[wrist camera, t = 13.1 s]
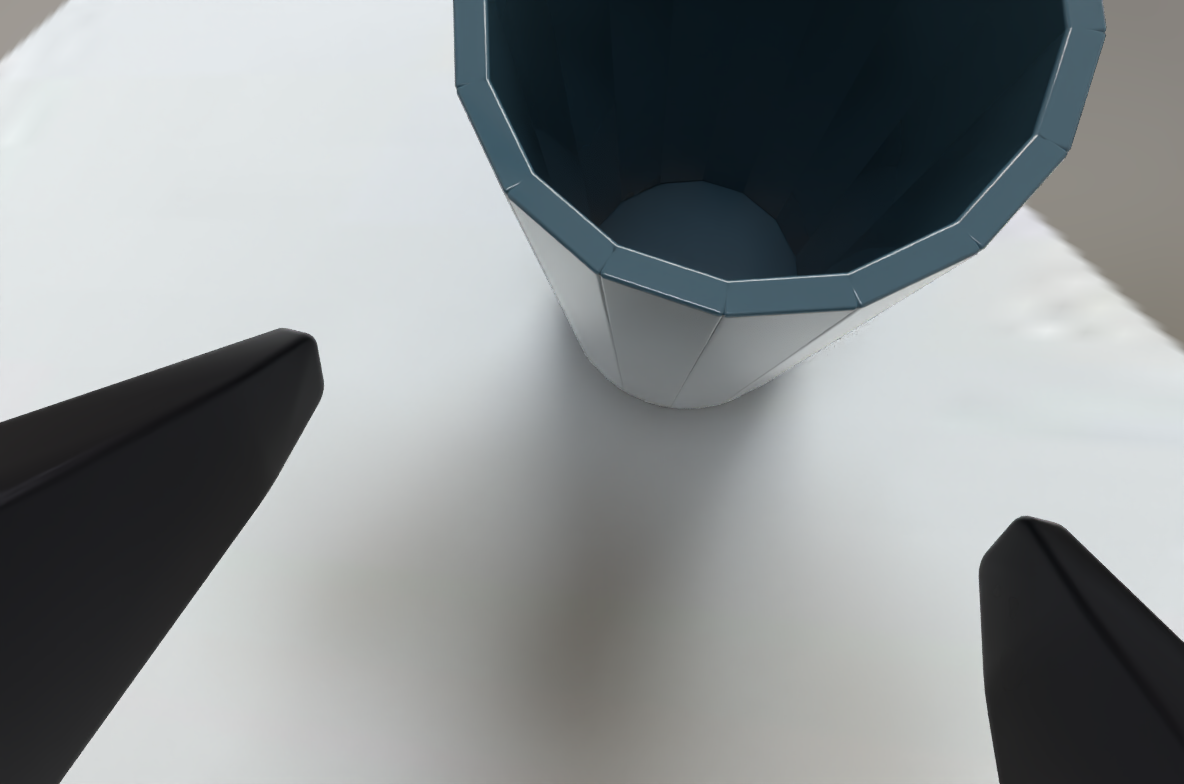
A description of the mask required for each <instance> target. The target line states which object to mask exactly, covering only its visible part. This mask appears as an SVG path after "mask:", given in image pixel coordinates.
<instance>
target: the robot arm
mask: <svg viewBox="0 0 1184 784" xmlns="http://www.w3.org/2000/svg"><path fill="white" fill-rule="evenodd" d="M323 390H324V380H323V374H322V369H321V363H320V357H319V352H318V346H317V342H316V340H315V339H314V337H313V336H311V335H310V334H307V333H304V332H300V331H296V330H292V329H287V328H279V329H276V330H273V331H270V332H267V333H264V334H261V335H258V336H255V337H252V338H249V339H246V340H243V341H240V342H237V343H234V344H231V345H228V346H226V347H223V348H220V349H217V350H214V351H211V352H208V353H205V354H202V355H199V356H196V357H193V358H190V359H187V360H184V361H181V362H178V363H175V364H172V365H169V366H166V367H163V368H160V369H157V370H154V371H152V372H149V373H146V374H143V375H140V376H137V377H134V378H131V379H128V380H125V381H122V382H119V383H116V384H113V385H110V386H107V387H104V388H101V389H98V390H95V391H92V392H89V393H86V394H83V395H80V396H77V397H75V398H72V399H69V400H66V401H63V402H60V403H57V404H54V405H51V406H48V407H45V408H42V409H39V410H36V411H33V412H30V413H27V414H24V415H21V416H18V417H15V418H12V419H9V420H6V421H3V422H1V423H0V784H59V783H60V782H61V780H62V779H63V777H64V776H65V775H66V773H67V772H68V770H69V769H70V768H71V766H72V765H73V764H74V762H75V761H76V759H77V758H78V757H79V755H80V754H81V752H82V751H83V750H84V748H85V747H86V745H87V744H88V743H89V741H90V740H91V738H92V737H93V736H94V734H95V733H96V732H97V730H98V729H99V727H100V726H101V725H102V723H103V722H104V720H105V719H106V718H107V716H108V715H109V713H110V712H111V711H112V709H113V708H114V706H115V705H116V704H117V702H118V701H119V700H120V698H121V697H122V695H123V694H124V693H125V691H126V690H127V688H128V687H129V686H130V684H131V683H132V681H133V680H134V679H135V677H136V676H137V674H138V673H139V672H140V670H141V669H142V668H143V666H144V665H145V663H146V662H147V661H148V659H149V658H150V656H151V655H152V654H153V652H154V651H155V649H156V648H157V647H158V645H159V644H160V643H161V641H162V640H163V638H164V637H165V636H166V634H167V633H168V631H169V630H170V629H171V627H172V626H173V624H174V623H175V622H176V620H177V619H178V617H179V616H180V615H181V613H182V612H183V611H184V609H185V608H186V606H187V605H188V604H189V602H190V601H191V599H192V598H193V597H194V595H195V594H196V592H197V591H198V590H199V588H200V587H201V585H202V584H203V583H204V581H205V580H206V579H207V577H208V576H209V574H210V573H211V572H212V570H213V569H214V567H215V566H216V565H217V563H218V562H219V560H220V559H221V558H222V556H223V555H224V553H225V552H226V551H227V549H228V548H229V547H230V545H231V544H232V542H233V541H234V540H235V538H236V537H237V535H238V534H239V533H240V531H241V530H242V528H243V527H244V526H245V524H246V523H247V521H248V520H249V519H250V517H251V516H252V515H253V513H254V512H255V510H256V509H257V508H258V506H259V505H260V503H261V502H262V500H263V499H264V497H265V496H266V494H267V493H268V491H269V490H270V488H271V487H272V485H273V483H274V482H275V480H276V478H277V477H278V475H279V473H280V471H281V470H282V468H283V466H284V464H285V462H286V461H287V459H288V457H289V455H290V454H291V452H292V450H293V448H294V446H295V445H296V443H297V441H298V439H299V437H300V436H301V434H302V432H303V430H304V429H305V427H306V425H307V423H308V421H309V420H310V418H311V416H312V414H313V413H314V411H315V409H316V407H317V405H318V404H319V402H320V400H321V397H322V394H323ZM979 591H980V612H981V633H982V655H983V674H984V686H985V696H986V703H987V710H988V717H989V723H990V729H991V735H992V741H993V747H994V753H995V759H996V765H997V771H998V777H999V783H1000V784H1184V642H1183V641H1182V640H1181V639H1180V638H1179V637H1178V636H1177V635H1176V634H1175V633H1174V632H1172V631H1171V630H1170V629H1169V628H1168V627H1167V626H1166V625H1165V624H1164V623H1163V622H1162V621H1161V620H1160V619H1159V618H1158V617H1157V616H1156V615H1155V614H1154V613H1153V612H1152V611H1151V610H1150V609H1149V608H1148V607H1146V606H1145V605H1144V604H1143V603H1142V602H1141V601H1140V600H1139V599H1138V598H1137V597H1136V596H1135V595H1134V594H1133V593H1132V592H1131V591H1130V590H1129V589H1128V588H1127V587H1126V586H1125V585H1124V584H1123V583H1122V582H1121V581H1119V580H1118V579H1117V578H1116V577H1115V576H1114V575H1113V574H1112V573H1111V572H1110V571H1109V570H1108V569H1107V568H1106V567H1105V566H1104V565H1103V564H1102V563H1101V562H1100V561H1099V560H1098V559H1097V558H1096V557H1095V556H1094V555H1092V554H1091V553H1090V552H1089V551H1088V550H1087V549H1086V548H1085V547H1084V546H1083V545H1082V544H1081V543H1080V542H1079V541H1078V540H1077V539H1076V538H1075V537H1074V536H1073V535H1072V534H1071V533H1070V532H1069V531H1068V530H1067V529H1065V528H1064V527H1063V526H1061V525H1060V524H1057V523H1054V522H1051V521H1047V520H1043V519H1039V518H1035V517H1031V516H1021V517H1019V518H1017V519H1015V520H1014V521H1013V522H1012V523H1011V524H1010V525H1009V527H1008V528H1007V529H1006V530H1005V531H1004V532H1003V534H1002V535H1001V536H1000V537H999V538H998V539H997V541H996V542H995V543H994V544H993V545H992V546H991V547H990V549H989V550H988V551H987V552H986V553H985V555H984V556H983V558H982V561H981V564H980V568H979Z"/></svg>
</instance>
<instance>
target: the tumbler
mask: <svg viewBox="0 0 1184 784" xmlns="http://www.w3.org/2000/svg"><path fill="white" fill-rule="evenodd" d="M453 23H454V67H455V87H456V89H457V95H458V97H459V100H460V102H461V104H462V106H463V108H464V110H465V112H466V114H467V116H468V119H469V121H470V123H471V125H472V127H473V129H474V131H475V133H476V136H477V138H478V140H479V142H480V144H481V146H482V148H483V150H484V152H485V155H486V157H487V159H488V161H489V163H490V165H491V167H492V169H493V171H494V174H495V176H496V178H497V180H498V182H499V184H500V186H501V188H502V191H503V193H504V195H505V197H506V199H507V201H508V203H509V205H510V206H511V208H512V210H513V212H514V214H515V216H516V218H517V220H518V222H519V224H520V226H521V228H522V230H523V232H524V234H525V236H526V238H527V240H528V242H529V244H530V246H531V248H532V250H533V252H534V254H535V256H536V258H537V260H538V262H539V264H540V266H541V268H542V270H543V272H544V274H545V276H546V278H547V280H548V282H549V284H550V286H551V288H552V290H553V292H554V294H555V296H556V298H557V300H558V302H559V304H560V306H561V308H562V310H563V312H564V314H565V316H566V318H567V320H568V322H569V324H570V326H571V328H572V330H573V331H574V333H575V335H576V337H577V339H578V341H579V343H580V345H581V347H582V349H583V351H584V353H585V355H586V357H587V358H588V360H589V361H590V362H591V363H592V364H593V365H594V366H595V367H596V368H597V369H598V370H599V371H600V372H601V373H602V374H603V375H604V376H605V378H606V379H608V380H609V381H610V382H611V383H613V384H614V385H615V386H617V387H618V388H619V389H621V390H623V391H624V392H626V393H628V394H629V395H631V396H633V397H635V398H638V399H640V400H642V401H645V402H647V403H651V404H654V405H658V406H662V407H669V408H675V409H697V408H705V407H711V406H717V405H722V404H724V403H726V402H728V401H731V400H733V399H736V398H738V397H740V396H742V395H744V394H746V393H748V392H750V391H752V390H754V389H756V388H758V387H760V386H762V385H764V384H766V383H768V382H769V381H771V380H773V379H774V378H776V377H777V376H779V375H781V374H782V373H784V372H786V371H787V370H789V369H790V368H792V367H794V366H795V365H797V364H799V363H800V362H802V361H804V360H805V359H807V358H808V357H810V356H812V355H813V354H815V353H817V352H818V351H820V350H821V349H823V348H825V347H826V346H828V345H830V344H831V343H833V342H835V341H836V340H838V339H839V338H841V337H843V336H844V335H846V334H848V333H849V332H851V331H853V330H854V329H856V328H857V327H859V326H861V325H862V324H864V323H866V322H867V321H869V320H870V319H872V318H874V317H875V316H877V315H879V314H880V313H882V312H884V311H885V310H887V309H888V308H890V307H892V306H893V305H895V304H897V303H898V302H900V301H902V300H903V299H905V298H906V297H908V296H910V295H911V294H913V293H915V292H916V291H918V290H919V289H921V288H923V287H924V286H926V285H928V284H929V283H931V282H933V281H934V280H936V279H937V278H939V277H941V276H942V275H944V274H946V273H947V272H949V271H950V270H952V269H954V268H955V267H957V266H959V265H960V264H962V263H964V262H965V261H967V260H968V259H970V258H972V257H973V256H975V255H977V253H978V252H980V251H981V250H983V249H985V247H986V246H987V245H988V244H989V243H990V242H991V241H992V240H993V238H994V237H995V236H996V235H997V234H998V233H999V232H1000V231H1001V229H1002V228H1003V227H1004V226H1005V225H1006V224H1007V223H1008V222H1009V221H1010V219H1011V218H1012V217H1013V216H1014V215H1015V214H1016V213H1017V212H1018V210H1019V209H1020V208H1021V207H1022V206H1023V205H1024V204H1025V203H1026V201H1027V200H1028V199H1029V198H1030V197H1031V196H1032V195H1033V194H1034V193H1035V191H1036V190H1037V189H1038V188H1039V187H1040V185H1042V183H1043V182H1044V181H1045V180H1046V179H1047V178H1048V177H1049V176H1050V175H1051V173H1052V172H1053V171H1054V170H1055V169H1056V168H1057V167H1058V166H1059V165H1060V163H1061V162H1062V161H1063V160H1064V159H1065V158H1066V155H1067V153H1068V152H1069V150H1070V149H1071V146H1072V143H1073V139H1074V136H1075V133H1076V130H1077V127H1078V124H1079V120H1080V117H1081V113H1082V111H1083V107H1084V104H1085V101H1086V98H1087V95H1088V91H1089V88H1090V85H1091V82H1092V79H1093V75H1094V72H1095V69H1096V65H1097V63H1098V59H1099V56H1100V53H1101V50H1102V46H1103V43H1104V40H1105V37H1106V34H1105V31H1106V22H1105V15H1104V7H1103V0H453Z"/></svg>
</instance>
